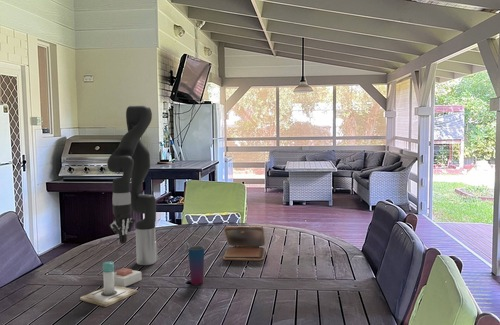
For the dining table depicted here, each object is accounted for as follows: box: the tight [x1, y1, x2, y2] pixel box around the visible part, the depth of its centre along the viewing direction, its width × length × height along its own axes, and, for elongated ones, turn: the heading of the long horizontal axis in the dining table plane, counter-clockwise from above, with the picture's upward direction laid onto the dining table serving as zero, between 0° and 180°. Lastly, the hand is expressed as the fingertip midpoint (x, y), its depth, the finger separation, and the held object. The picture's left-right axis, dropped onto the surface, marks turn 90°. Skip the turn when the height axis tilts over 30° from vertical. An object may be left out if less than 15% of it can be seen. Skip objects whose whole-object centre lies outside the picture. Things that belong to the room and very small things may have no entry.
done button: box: [116, 267, 133, 276], centre depth 196 cm, size 4×4×3 cm
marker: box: [102, 261, 115, 295], centre depth 179 cm, size 4×4×12 cm
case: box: [222, 225, 266, 262], centre depth 232 cm, size 20×21×16 cm
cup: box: [187, 245, 205, 285], centre depth 193 cm, size 7×7×15 cm
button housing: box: [114, 269, 143, 288], centre depth 196 cm, size 10×10×4 cm
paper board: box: [79, 285, 138, 308], centre depth 179 cm, size 16×14×1 cm
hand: (123, 243), depth 194 cm, fingers closed
